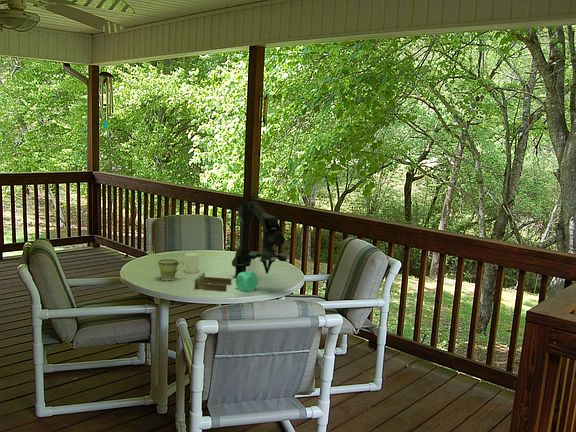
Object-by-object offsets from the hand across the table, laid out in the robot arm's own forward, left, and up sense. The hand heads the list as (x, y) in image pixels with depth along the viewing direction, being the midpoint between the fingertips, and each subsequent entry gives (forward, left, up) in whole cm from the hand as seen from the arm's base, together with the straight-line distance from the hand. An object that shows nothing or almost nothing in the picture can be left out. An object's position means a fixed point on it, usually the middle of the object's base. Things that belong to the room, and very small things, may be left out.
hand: (267, 273), depth 274 cm
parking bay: (0, -27, -9) cm, 28 cm away
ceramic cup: (-8, -51, -9) cm, 52 cm away
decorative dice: (0, -10, -9) cm, 13 cm away
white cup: (-27, -45, -9) cm, 53 cm away
